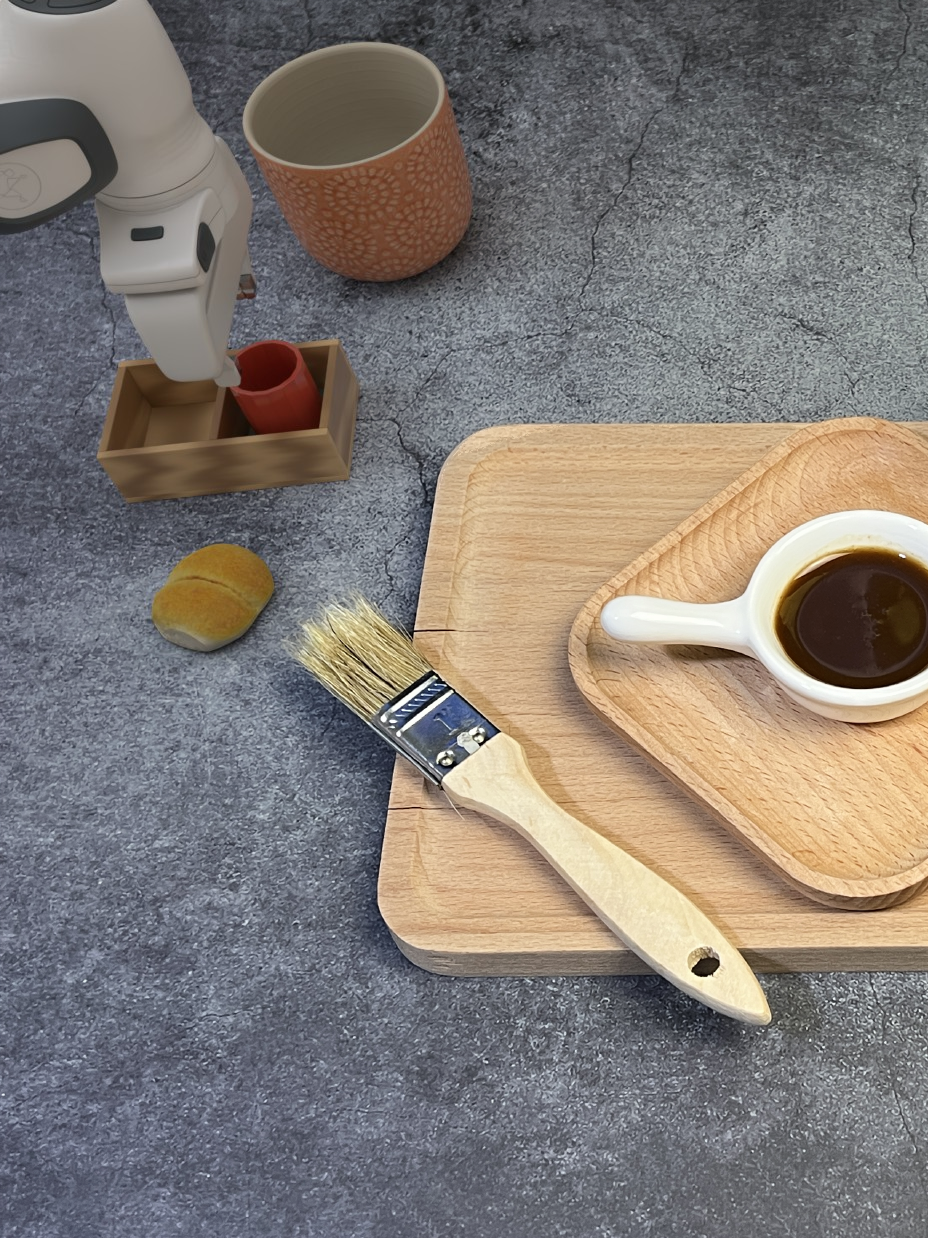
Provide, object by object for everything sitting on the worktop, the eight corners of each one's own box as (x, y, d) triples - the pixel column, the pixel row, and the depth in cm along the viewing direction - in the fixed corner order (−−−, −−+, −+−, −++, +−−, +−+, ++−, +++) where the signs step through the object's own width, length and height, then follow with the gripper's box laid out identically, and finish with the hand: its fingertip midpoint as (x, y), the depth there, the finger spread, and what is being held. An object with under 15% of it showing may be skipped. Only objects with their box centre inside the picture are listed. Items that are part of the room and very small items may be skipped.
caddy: (127, 503, 123) (95, 458, 118) (148, 407, 129) (119, 361, 124) (349, 479, 123) (326, 434, 119) (360, 385, 129) (338, 338, 125)
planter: (272, 238, 140) (207, 98, 128) (431, 158, 146) (383, 16, 133) (359, 336, 133) (299, 198, 120) (523, 248, 138) (482, 107, 125)
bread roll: (294, 572, 118) (276, 541, 115) (233, 664, 114) (212, 634, 110) (205, 548, 120) (184, 516, 117) (140, 637, 115) (117, 607, 112)
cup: (256, 461, 124) (220, 398, 118) (264, 407, 127) (230, 343, 121) (329, 454, 124) (297, 390, 118) (336, 400, 127) (305, 336, 121)
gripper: (145, 102, 111) (216, 248, 122) (95, 294, 99) (178, 436, 111) (232, 94, 111) (294, 241, 122) (192, 285, 99) (265, 428, 111)
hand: (239, 335), depth 116 cm, fingers open, 8 cm apart
